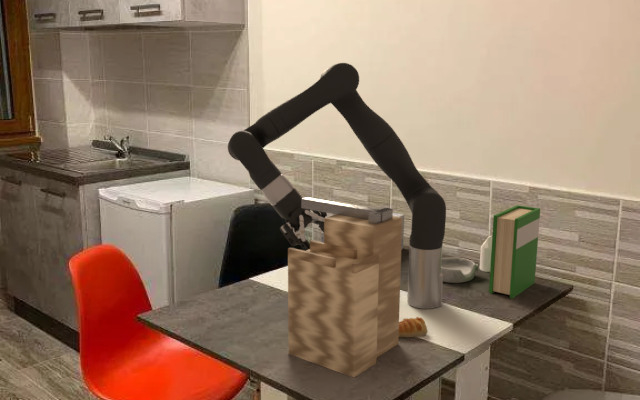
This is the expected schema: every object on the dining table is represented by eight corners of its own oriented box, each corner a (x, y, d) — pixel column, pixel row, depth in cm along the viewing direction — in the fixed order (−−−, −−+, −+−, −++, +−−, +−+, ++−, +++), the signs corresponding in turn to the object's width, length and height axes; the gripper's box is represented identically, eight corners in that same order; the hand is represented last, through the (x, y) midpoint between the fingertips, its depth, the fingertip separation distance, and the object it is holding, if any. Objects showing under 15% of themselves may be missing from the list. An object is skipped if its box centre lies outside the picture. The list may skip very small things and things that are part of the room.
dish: (480, 275, 212) (481, 260, 211) (465, 287, 201) (466, 272, 200) (439, 267, 220) (439, 253, 219) (422, 279, 209) (423, 264, 208)
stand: (288, 353, 155) (287, 223, 148) (341, 326, 171) (342, 207, 164) (353, 377, 143) (356, 237, 137) (403, 345, 159) (407, 218, 153)
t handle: (295, 209, 161) (295, 200, 161) (313, 204, 167) (313, 195, 166) (376, 224, 147) (376, 214, 146) (393, 219, 152) (393, 209, 152)
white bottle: (487, 231, 219) (502, 234, 216) (485, 265, 222) (500, 269, 218) (478, 234, 215) (493, 238, 211) (476, 269, 218) (491, 273, 214)
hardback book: (512, 298, 191) (518, 219, 186) (488, 293, 196) (493, 215, 191) (534, 282, 205) (540, 208, 200) (511, 278, 209) (517, 205, 204)
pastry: (396, 341, 162) (396, 327, 162) (384, 331, 169) (384, 317, 168) (429, 336, 166) (430, 322, 165) (416, 326, 172) (417, 312, 171)
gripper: (290, 187, 177) (327, 233, 178) (258, 215, 167) (298, 263, 168) (305, 176, 171) (343, 224, 173) (273, 204, 161) (314, 254, 163)
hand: (321, 243), depth 170 cm, fingers open, 8 cm apart
